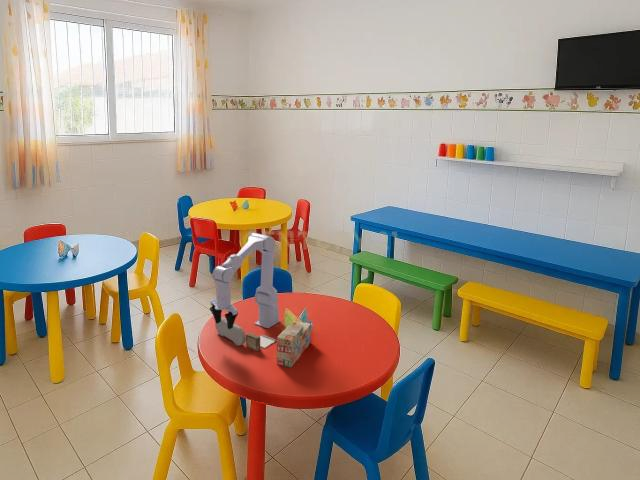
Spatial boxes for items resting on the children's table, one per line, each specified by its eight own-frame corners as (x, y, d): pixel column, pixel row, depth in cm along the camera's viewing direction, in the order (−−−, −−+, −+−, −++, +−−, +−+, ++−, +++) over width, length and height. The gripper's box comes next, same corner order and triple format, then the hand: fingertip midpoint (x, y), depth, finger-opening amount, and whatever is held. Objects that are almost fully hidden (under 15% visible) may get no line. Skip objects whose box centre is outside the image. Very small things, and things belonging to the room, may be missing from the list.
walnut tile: (249, 345, 196) (249, 332, 195) (260, 349, 193) (260, 336, 192) (246, 347, 195) (245, 334, 193) (257, 351, 192) (257, 338, 190)
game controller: (246, 346, 195) (246, 329, 193) (242, 348, 194) (241, 330, 191) (219, 330, 208) (219, 314, 206) (215, 332, 206) (214, 315, 204)
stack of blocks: (297, 340, 202) (298, 314, 199) (310, 343, 200) (311, 317, 197) (276, 364, 183) (276, 336, 179) (291, 368, 181) (291, 339, 177)
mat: (261, 335, 205) (261, 334, 204) (276, 341, 200) (276, 339, 200) (249, 343, 198) (249, 341, 198) (264, 348, 194) (264, 347, 194)
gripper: (203, 293, 189) (205, 323, 193) (227, 303, 180) (228, 334, 184) (217, 288, 194) (218, 317, 198) (241, 297, 186) (241, 328, 189)
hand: (224, 325), depth 191 cm, fingers open, 7 cm apart
